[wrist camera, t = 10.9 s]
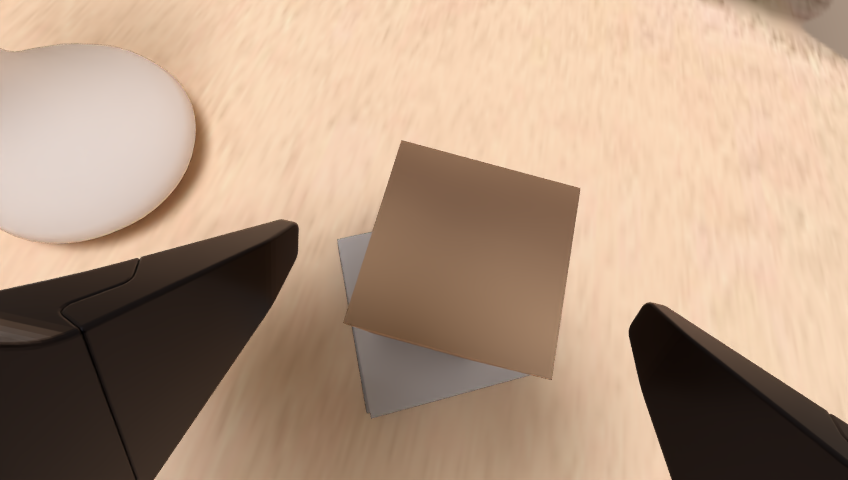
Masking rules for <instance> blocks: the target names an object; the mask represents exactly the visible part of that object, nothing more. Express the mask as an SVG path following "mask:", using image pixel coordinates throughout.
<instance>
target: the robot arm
mask: <svg viewBox="0 0 848 480" xmlns="http://www.w3.org/2000/svg"><path fill="white" fill-rule="evenodd" d="M298 233H299V228H298V225H297V223H295V222H292V221H287V220H282V219H281V220H277V221H273V222H269V223H266V224H262V225H258V226H254V227H251V228H247V229H243V230H240V231H236V232H232V233H228V234H225V235H221V236H217V237H214V238H210V239H206V240H202V241H199V242H195V243H191V244H188V245H184V246H180V247H176V248H173V249H169V250H165V251H162V252H158V253H154V254H150V255H147V256H143V257H141V258H140V259H138V258H135V259H131V260H128V261H124V262H120V263H117V264H113V265H109V266H105V267H101V268H97V269H93V270H89V271H85V272H81V273H76V274H72V275H68V276H63V277H59V278H54V279H50V280H46V281H41V282H36V283H32V284H27V285H23V286H18V287H13V288H9V289H4V290H0V480H154V479H155V477H156V476H157V474H158V473H159V471H160V470H161V468H162V467H163V465H164V464H165V463H166V461H167V460H168V458H169V457H170V455H171V454H172V452H173V451H174V449H175V448H176V446H177V445H178V443H179V442H180V441H181V439H182V438H183V436H184V435H185V433H186V432H187V430H188V429H189V427H190V426H191V424H192V423H193V421H194V420H195V418H196V417H197V416H198V414H199V413H200V411H201V410H202V408H203V407H204V405H205V404H206V402H207V401H208V399H209V398H210V396H211V395H212V393H213V392H214V391H215V389H216V388H217V386H218V385H219V383H220V382H221V380H222V379H223V377H224V376H225V374H226V373H227V371H228V370H229V368H230V367H231V366H232V364H233V363H234V361H235V360H236V358H237V357H238V355H239V354H240V352H241V351H242V349H243V348H244V346H245V345H246V344H247V342H248V341H249V339H250V338H251V336H252V335H253V333H254V332H255V330H256V329H257V327H258V326H259V324H260V323H261V321H262V320H263V319H264V317H265V316H266V314H267V313H268V311H269V309H270V308H271V306H272V305H273V303H274V301H275V299H276V297H277V295H278V293H279V291H280V289H281V287H282V285H283V284H284V282H285V280H286V278H287V276H288V274H289V272H290V270H291V268H292V266H293V264H294V262H295V260H296V258H297V254H298ZM629 338H630V343H631V347H632V352H633V356H634V361H635V365H636V369H637V374H638V378H639V382H640V386H641V390H642V393H643V396H644V400H645V403H646V406H647V408H648V411H649V414H650V417H651V420H652V423H653V426H654V429H655V432H656V435H657V438H658V441H659V444H660V447H661V450H662V453H663V456H664V458H665V461H666V464H667V467H668V470H669V473H670V476H671V479H672V480H848V424H847V423H845V422H843V421H842V420H840V419H839V418H837V417H836V416H834V415H832V414H829V413H828V412H827V411H826V410H825V409H823V408H822V407H820V406H819V405H817V404H816V403H814V402H813V401H811V400H809V399H808V398H806V397H805V396H803V395H802V394H800V393H799V392H797V391H796V390H794V389H793V388H791V387H789V386H788V385H786V384H785V383H783V382H782V381H780V380H779V379H777V378H776V377H774V376H773V375H771V374H769V373H768V372H766V371H765V370H763V369H762V368H760V367H759V366H757V365H756V364H754V363H753V362H751V361H749V360H748V359H746V358H745V357H743V356H742V355H740V354H739V353H737V352H736V351H734V350H733V349H731V348H729V347H728V346H726V345H725V344H723V343H722V342H720V341H719V340H717V339H716V338H714V337H713V336H711V335H709V334H708V333H706V332H705V331H703V330H702V329H700V328H699V327H697V326H696V325H694V324H692V323H691V322H689V321H688V320H686V319H685V318H683V317H682V316H680V315H679V314H677V313H676V312H674V311H672V310H671V309H669V308H668V307H666V306H664V305H660V304H656V303H651V302H648V303H646V304H644V305H643V306H642V308H641V309H640V311H639V313H638V314H637V316H636V317H635V319H634V320H633V322H632V323H631V325H630V328H629Z"/></svg>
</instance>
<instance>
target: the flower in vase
mask: <svg viewBox="0 0 848 480" xmlns="http://www.w3.org/2000/svg"><path fill="white" fill-rule="evenodd" d="M195 134H196V123H195V114H194V111H193V107H192V103H191V101H190V99H189V97H188V95H187V93H186V91H185V90H184V88H183V87H182V85H181V84H180V83H179V82H178V81H177V80H176V78H175V77H174V76H173V75H172V74H170V73H169V72H168V71H167V70H165V69H164V68H163V67H161V66H159V65H157V64H156V63H154V62H152V61H150V60H148V59H146V58H145V57H143V56H141V55H138V54H136V53H134V52H131V51H129V50H125V49H122V48H118V47H113V46H107V45H96V44H75V43H74V44H58V45H51V46H45V47H38V48H32V49H28V50H23V51H16V52H14V51H7V50H4V49H1V48H0V229H1V230H3V231H5V232H7V233H9V234H11V235H13V236H16V237H19V238H22V239H26V240H29V241H35V242H41V243H57V244H63V243H74V242H81V241H86V240H91V239H95V238H98V237H101V236H104V235H108V234H110V233H113V232H115V231H117V230H120V229H122V228H124V227H127V226H129V225H131V224H133V223H135V222H136V221H138V220H140V219H142V218H143V217H145V216H146V215H148V214H149V213H150V212H152V211H153V210H154V209H156V208H157V207H158V206H159V205H160V204H161V203H162V202H163V201H164V200H165V199H166V198H167V197H168V196H169V195H170V194H171V193H172V192H173V190H174V189H175V188H176V186H177V185H178V184H179V182H180V181H181V179H182V178H183V176H184V174H185V172H186V170H187V168H188V165H189V162H190V160H191V157H192V153H193V148H194V143H195Z"/></svg>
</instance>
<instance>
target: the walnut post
mask: <svg viewBox="0 0 848 480" xmlns="http://www.w3.org/2000/svg"><path fill="white" fill-rule="evenodd" d="M579 194H580V188H577V187H574V186H570V185H566V184H562V183H559V182H555V181H551V180H547V179H544V178H540V177H536V176H533V175H529V174H525V173H521V172H518V171H514V170H510V169H507V168H503V167H499V166H495V165H492V164H488V163H484V162H481V161H477V160H473V159H469V158H466V157H462V156H458V155H454V154H451V153H447V152H443V151H440V150H436V149H432V148H428V147H425V146H421V145H417V144H414V143H410V142H406V141H402V140H401V144H400V147H399V150H398V153H397V156H396V159H395V162H394V165H393V169H392V172H391V175H390V178H389V181H388V184H387V187H386V191H385V194H384V197H383V200H382V203H381V206H380V209H379V212H378V216H377V219H376V222H375V225H374V228H373V231H372V234H371V238H370V241H369V244H368V247H367V250H366V253H365V256H364V259H363V263H362V266H361V269H360V272H359V275H358V278H357V281H356V284H355V288H354V291H353V294H352V297H351V300H350V303H349V306H348V310H347V313H346V316H345V319H344V322H343V323H345V324H348V325H351V326H353V327H356V328H359V329H362V330H365V331H368V332H370V333H373V334H377V335H381V336H384V337H388V338H391V339H395V340H399V341H402V342H406V343H410V344H413V345H417V346H421V347H424V348H428V349H432V350H435V351H439V352H443V353H446V354H450V355H453V356H457V357H461V358H464V359H468V360H472V361H476V362H480V363H484V364H488V365H492V366H496V367H500V368H504V369H509V370H513V371H517V372H521V373H525V374H529V375H533V376H537V377H541V378H545V379H549V380H552V373H553V367H554V360H555V353H556V347H557V340H558V334H559V327H560V320H561V314H562V307H563V300H564V294H565V287H566V280H567V274H568V267H569V261H570V254H571V247H572V241H573V234H574V227H575V221H576V214H577V208H578V201H579Z"/></svg>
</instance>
